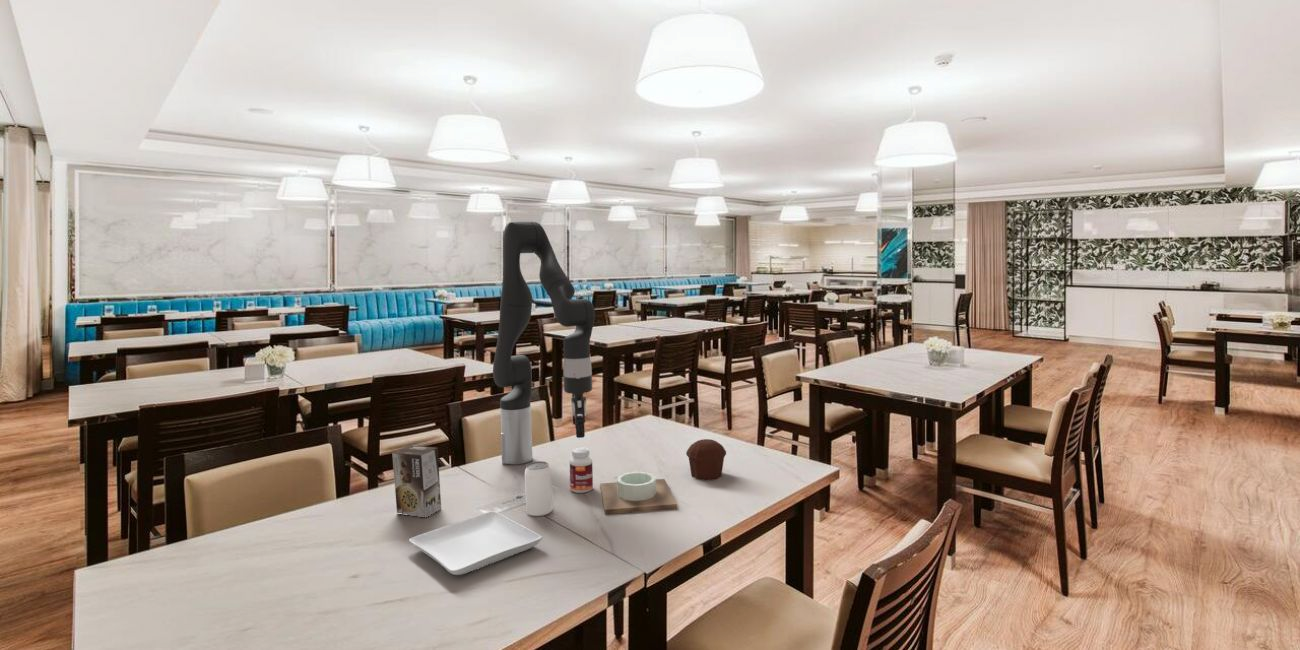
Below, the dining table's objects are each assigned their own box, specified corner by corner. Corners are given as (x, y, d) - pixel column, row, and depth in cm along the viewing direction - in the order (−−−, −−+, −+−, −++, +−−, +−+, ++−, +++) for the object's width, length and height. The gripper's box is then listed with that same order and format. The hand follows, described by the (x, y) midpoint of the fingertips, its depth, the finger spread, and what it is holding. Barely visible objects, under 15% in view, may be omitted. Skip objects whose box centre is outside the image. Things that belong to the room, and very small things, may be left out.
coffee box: (442, 508, 153) (439, 447, 152) (425, 519, 147) (421, 455, 146) (413, 504, 156) (409, 444, 155) (395, 514, 150) (391, 451, 149)
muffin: (701, 484, 166) (701, 449, 165) (678, 473, 176) (678, 440, 175) (734, 476, 173) (734, 441, 172) (710, 465, 182) (710, 433, 181)
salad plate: (494, 522, 146) (493, 508, 145) (545, 550, 131) (544, 535, 130) (407, 552, 131) (406, 537, 131) (453, 588, 116) (452, 571, 116)
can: (527, 507, 153) (525, 461, 152) (553, 505, 154) (551, 460, 153) (524, 517, 147) (522, 470, 146) (551, 516, 147) (549, 468, 146)
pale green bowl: (619, 502, 152) (619, 486, 152) (615, 487, 162) (615, 473, 162) (658, 499, 154) (658, 483, 153) (652, 484, 164) (652, 470, 163)
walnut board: (605, 514, 148) (604, 509, 148) (600, 487, 166) (599, 483, 165) (677, 508, 151) (677, 503, 150) (664, 482, 168) (664, 478, 168)
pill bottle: (575, 495, 161) (574, 455, 160) (566, 488, 166) (565, 449, 165) (596, 490, 164) (595, 451, 163) (587, 483, 169) (586, 445, 168)
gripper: (563, 370, 168) (565, 427, 170) (563, 379, 154) (566, 441, 156) (590, 368, 169) (592, 425, 171) (593, 377, 155) (595, 439, 157)
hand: (579, 433), depth 163 cm, fingers open, 8 cm apart
